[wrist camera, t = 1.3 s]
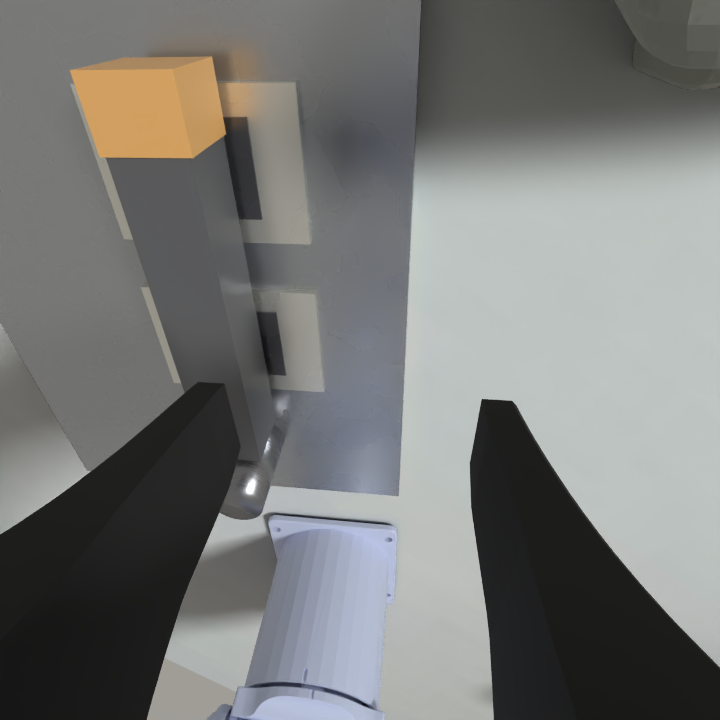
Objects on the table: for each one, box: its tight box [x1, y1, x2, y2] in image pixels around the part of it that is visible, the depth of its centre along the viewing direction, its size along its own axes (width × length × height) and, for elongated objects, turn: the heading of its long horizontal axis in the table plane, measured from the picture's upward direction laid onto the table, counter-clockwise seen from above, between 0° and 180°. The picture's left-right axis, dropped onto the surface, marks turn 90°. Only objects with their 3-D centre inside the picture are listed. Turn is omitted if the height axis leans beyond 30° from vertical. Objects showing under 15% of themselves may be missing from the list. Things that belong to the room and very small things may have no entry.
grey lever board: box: [0, 0, 422, 520], centre depth 19 cm, size 22×18×5 cm
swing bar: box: [70, 56, 276, 461], centre depth 17 cm, size 14×3×3 cm, turn 2°
